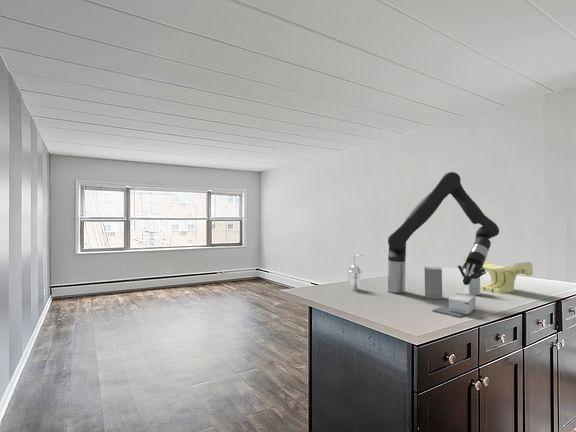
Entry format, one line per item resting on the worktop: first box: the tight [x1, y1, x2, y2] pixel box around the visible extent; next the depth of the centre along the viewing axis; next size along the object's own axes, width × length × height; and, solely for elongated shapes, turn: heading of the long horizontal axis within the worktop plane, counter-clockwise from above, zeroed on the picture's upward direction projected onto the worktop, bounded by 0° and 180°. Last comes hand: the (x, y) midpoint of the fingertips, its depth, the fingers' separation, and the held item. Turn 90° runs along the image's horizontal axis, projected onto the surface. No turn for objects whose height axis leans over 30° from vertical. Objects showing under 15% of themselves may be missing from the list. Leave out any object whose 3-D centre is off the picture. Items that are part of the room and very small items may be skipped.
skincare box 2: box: [448, 293, 477, 315], centre depth 156 cm, size 8×6×15 cm
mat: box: [431, 304, 477, 319], centre depth 155 cm, size 16×12×1 cm
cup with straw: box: [346, 254, 365, 291], centre depth 199 cm, size 8×9×20 cm
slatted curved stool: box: [463, 256, 534, 294], centre depth 200 cm, size 30×16×18 cm, turn 28°
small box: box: [464, 276, 481, 296], centre depth 190 cm, size 8×6×10 cm
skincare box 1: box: [424, 266, 443, 300], centre depth 180 cm, size 8×7×16 cm
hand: (465, 283), depth 162 cm, fingers closed
